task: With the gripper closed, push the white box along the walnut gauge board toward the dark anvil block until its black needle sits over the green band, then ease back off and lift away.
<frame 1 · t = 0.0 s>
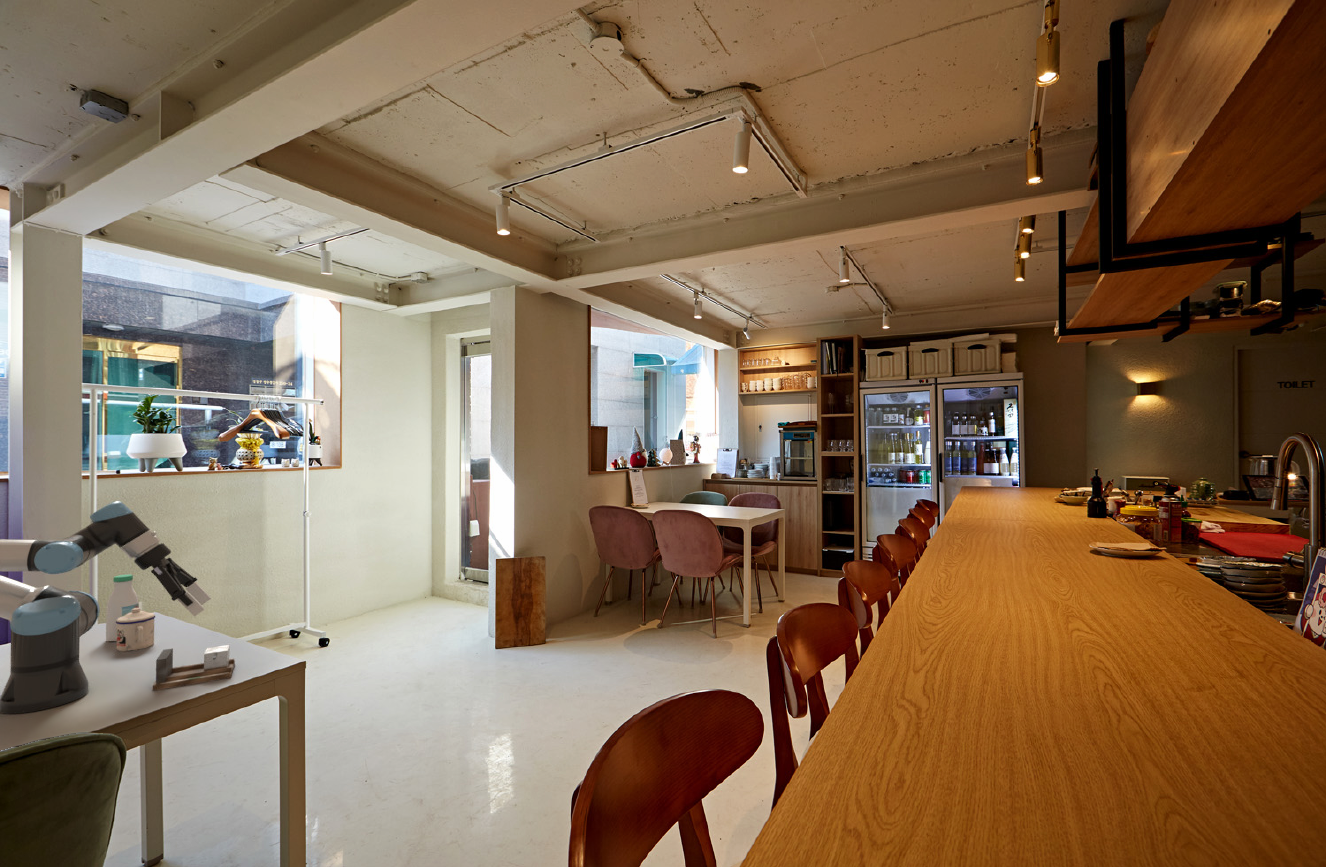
hand: (203, 607, 172), 15 cm above the table, tool tilted 35°, fingers open, 13 cm apart
gauge board: (195, 676, 160), on the table
white box: (216, 660, 161), point 4 cm above the table, slide at 0.0 cm
teacup with lid: (136, 648, 183), on the table
milk bottle: (122, 639, 192), on the table
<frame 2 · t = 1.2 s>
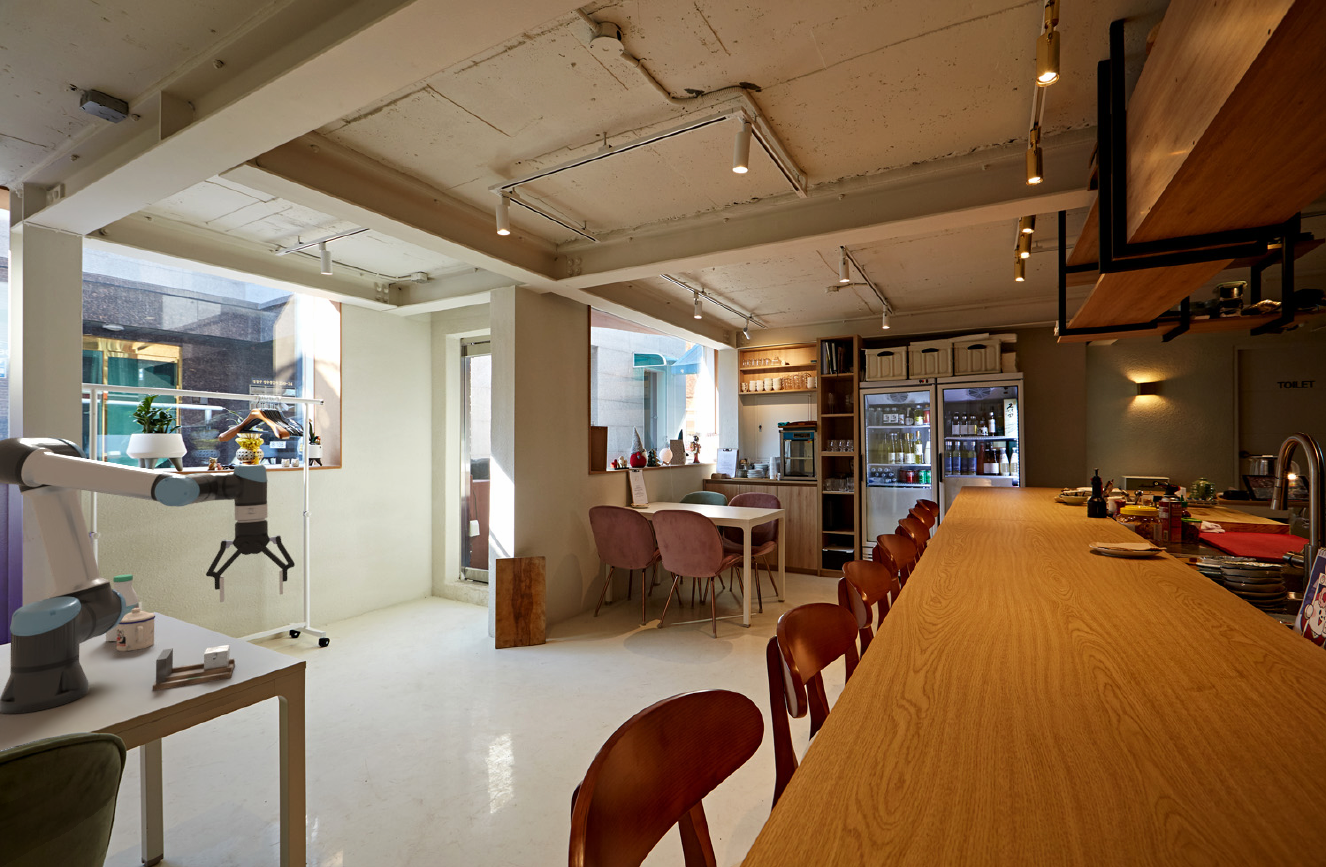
hand: (252, 597, 167), 19 cm above the table, tool pointing down, fingers open, 13 cm apart
nothing on the table moved.
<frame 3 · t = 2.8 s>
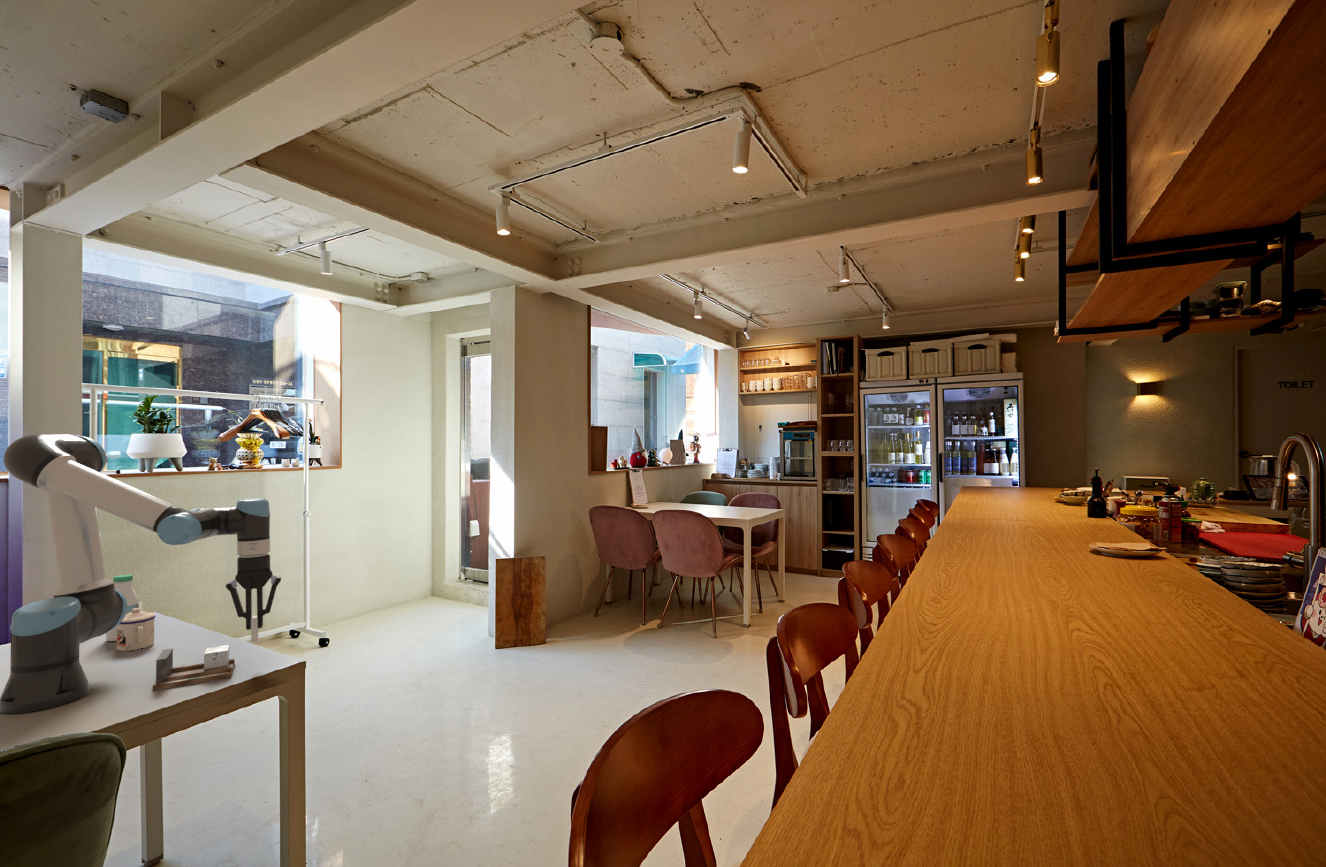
hand: (254, 640, 166), 7 cm above the table, tool pointing down, fingers closed
nothing on the table moved.
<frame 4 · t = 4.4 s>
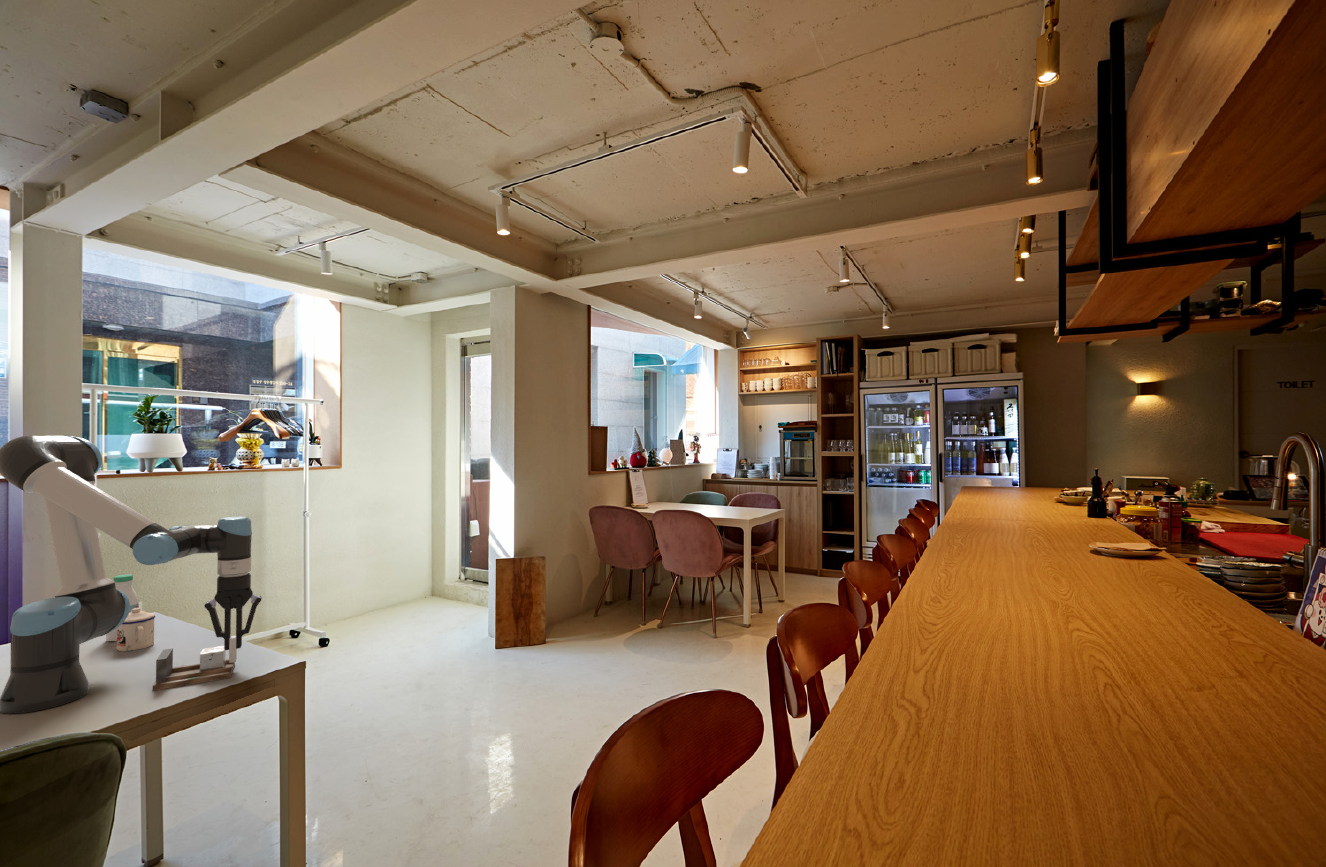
hand: (232, 660, 164), 3 cm above the table, tool pointing down, fingers closed
white box: (212, 661, 160), point 4 cm above the table, slide at 0.9 cm, touching gripper
everything else where it was.
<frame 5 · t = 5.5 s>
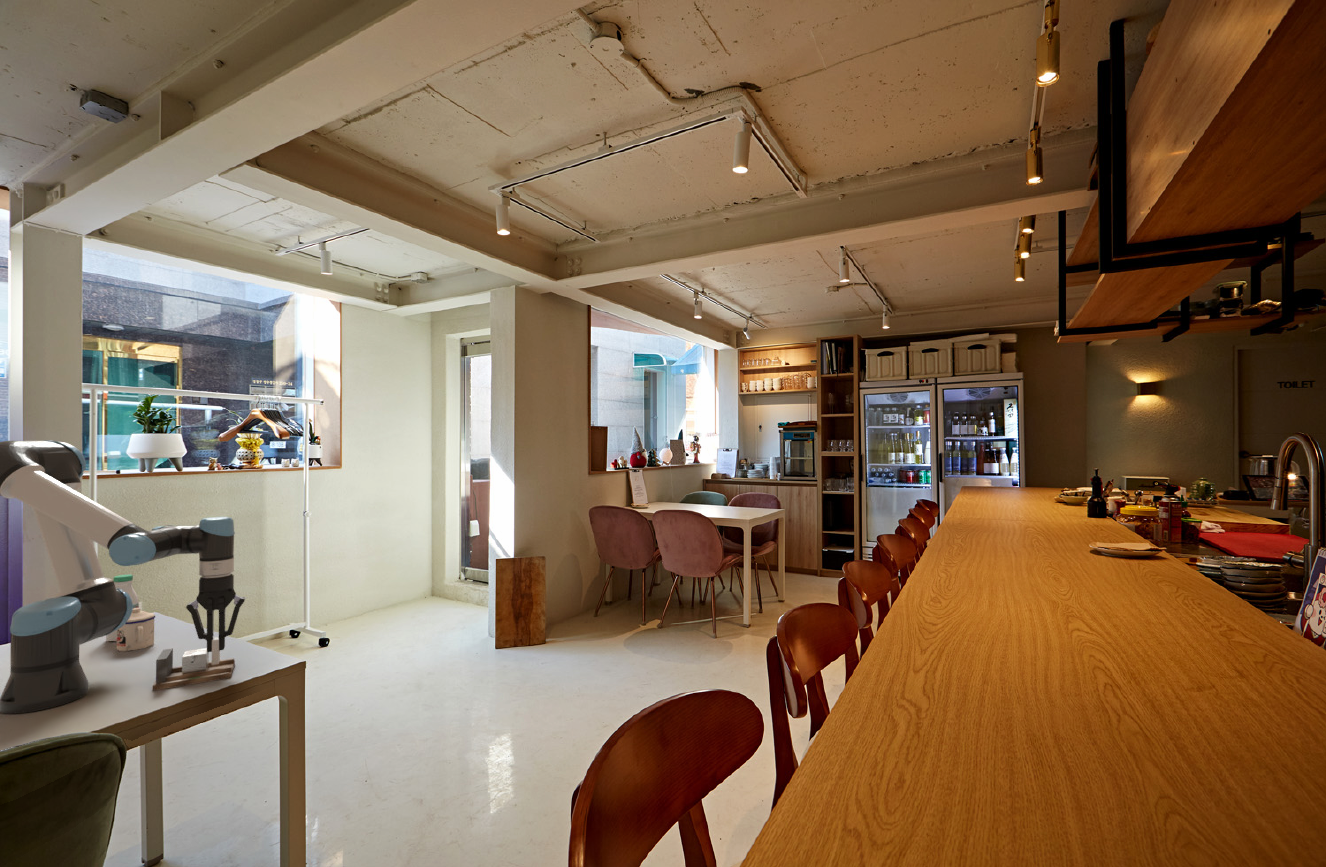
hand: (215, 662, 162), 3 cm above the table, tool pointing down, fingers closed
white box: (194, 663, 158), point 4 cm above the table, slide at 4.6 cm, touching gripper
everything else where it was.
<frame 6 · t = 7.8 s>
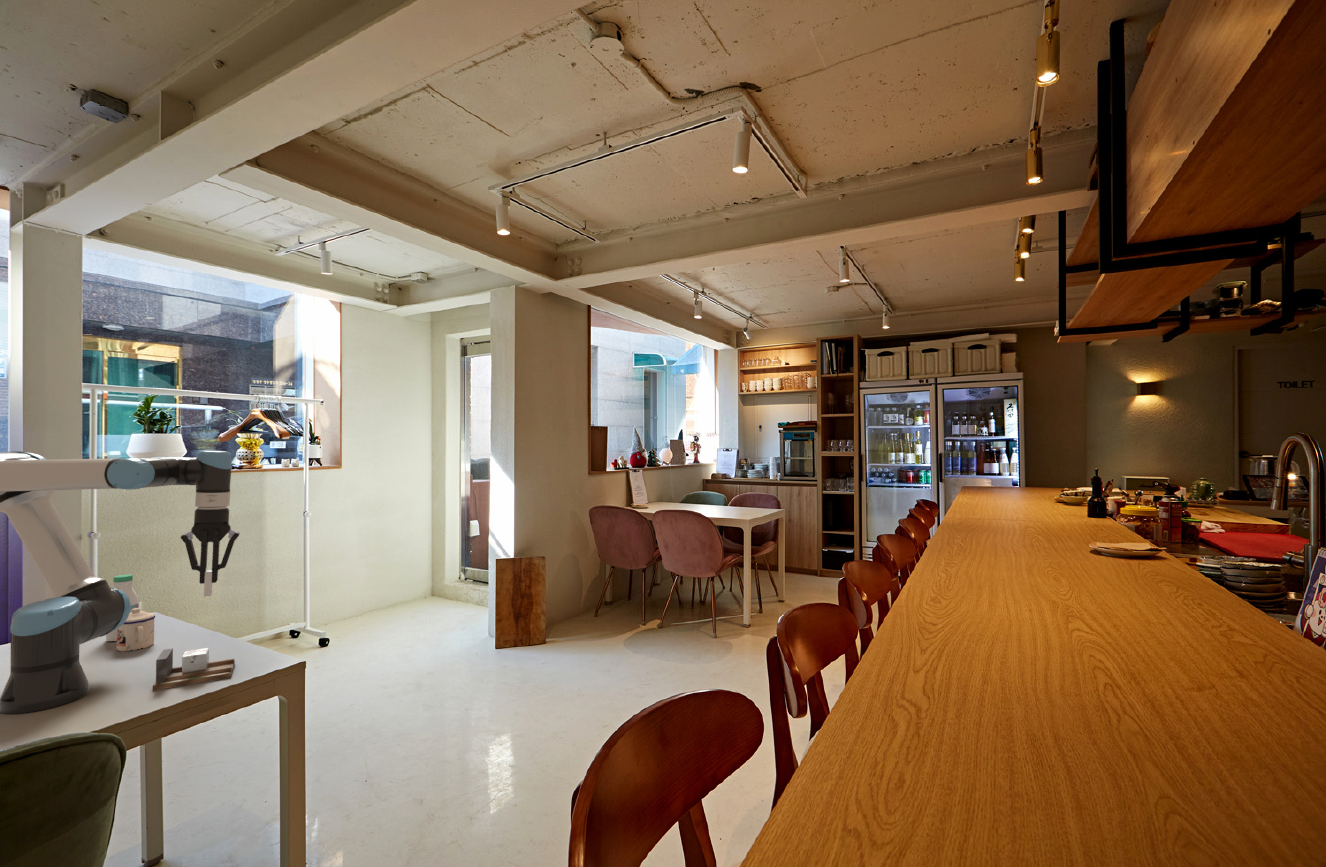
hand: (207, 595, 163), 21 cm above the table, tool pointing down, fingers closed
white box: (194, 663, 158), point 4 cm above the table, slide at 4.6 cm
everything else where it was.
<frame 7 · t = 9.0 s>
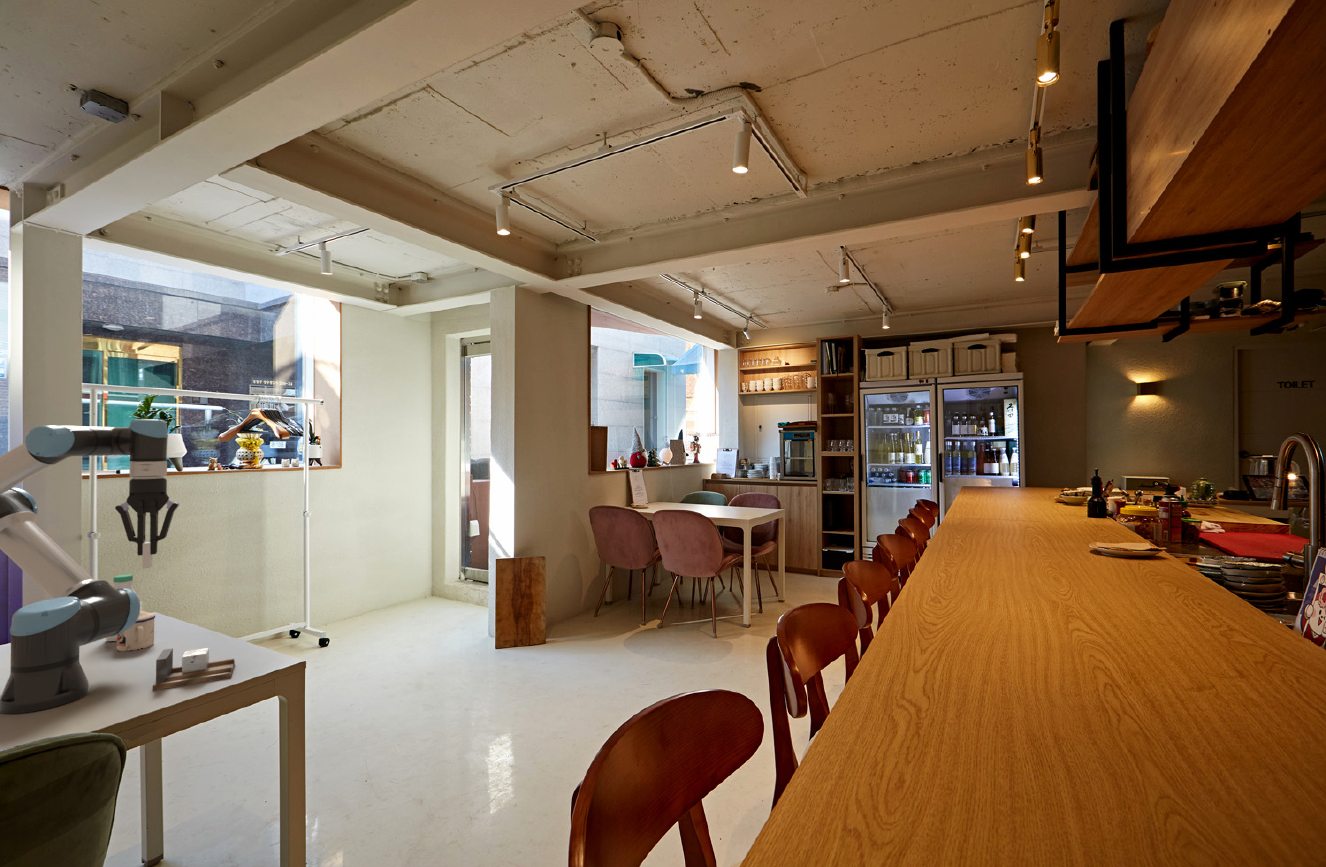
hand: (147, 567, 158), 29 cm above the table, tool pointing down, fingers closed
nothing on the table moved.
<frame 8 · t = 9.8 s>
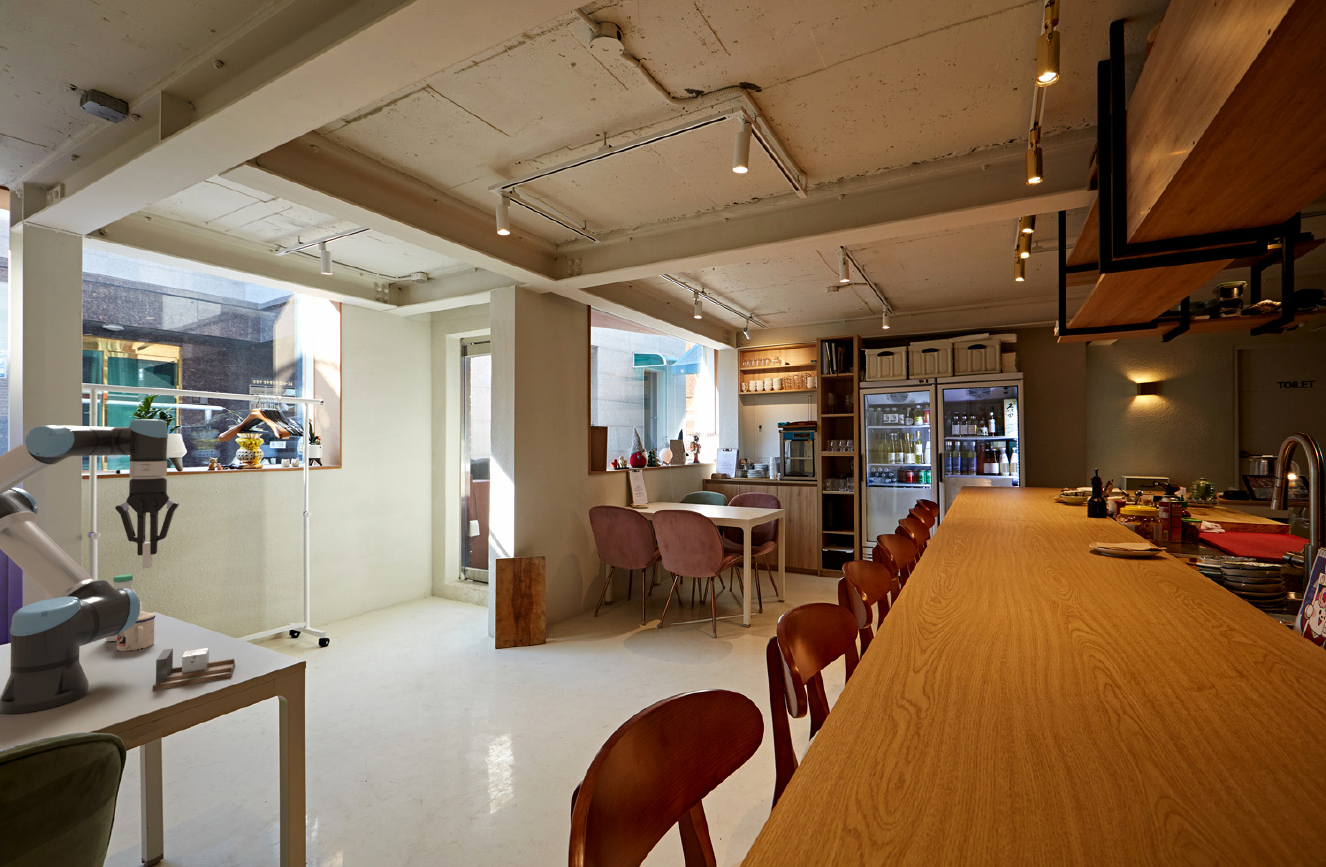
hand: (147, 567, 158), 29 cm above the table, tool pointing down, fingers closed
nothing on the table moved.
at the end: white box slide at 4.6 cm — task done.
